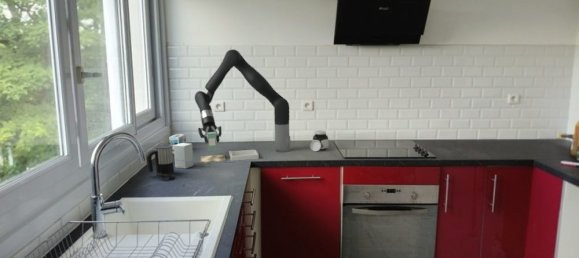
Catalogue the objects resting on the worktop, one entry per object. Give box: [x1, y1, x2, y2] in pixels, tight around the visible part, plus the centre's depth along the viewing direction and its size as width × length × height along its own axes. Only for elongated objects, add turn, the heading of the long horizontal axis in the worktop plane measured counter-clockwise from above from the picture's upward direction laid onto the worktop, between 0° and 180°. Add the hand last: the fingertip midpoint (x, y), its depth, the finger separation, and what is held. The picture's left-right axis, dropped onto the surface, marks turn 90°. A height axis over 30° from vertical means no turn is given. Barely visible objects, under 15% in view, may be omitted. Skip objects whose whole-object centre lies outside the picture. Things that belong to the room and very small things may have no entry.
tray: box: [228, 149, 260, 162], centre depth 250 cm, size 16×14×3 cm
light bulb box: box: [168, 133, 187, 155], centre depth 269 cm, size 11×7×11 cm, turn 168°
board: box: [200, 154, 227, 165], centre depth 247 cm, size 14×14×1 cm
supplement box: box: [173, 142, 195, 170], centre depth 232 cm, size 7×7×13 cm
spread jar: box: [309, 130, 330, 152], centre depth 267 cm, size 12×11×12 cm
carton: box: [207, 132, 218, 152], centre depth 245 cm, size 5×5×10 cm
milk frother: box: [145, 144, 175, 179], centre depth 214 cm, size 14×16×15 cm
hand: (212, 142), depth 244 cm, fingers closed on carton, 5 cm apart
